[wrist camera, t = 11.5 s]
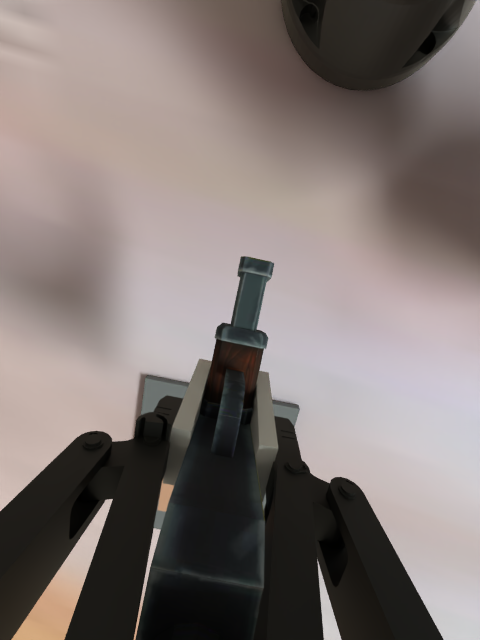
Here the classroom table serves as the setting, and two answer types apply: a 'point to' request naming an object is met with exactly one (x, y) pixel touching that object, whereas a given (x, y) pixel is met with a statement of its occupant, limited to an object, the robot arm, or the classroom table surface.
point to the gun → (216, 496)
